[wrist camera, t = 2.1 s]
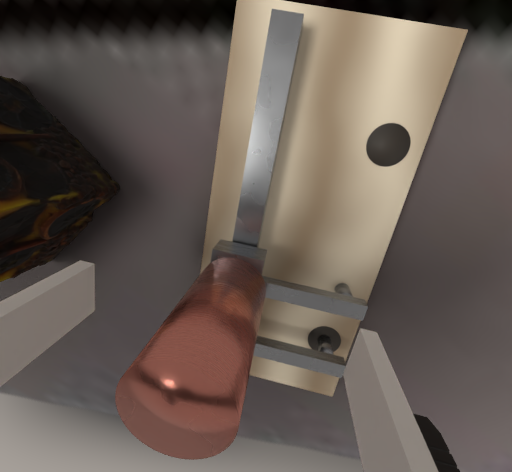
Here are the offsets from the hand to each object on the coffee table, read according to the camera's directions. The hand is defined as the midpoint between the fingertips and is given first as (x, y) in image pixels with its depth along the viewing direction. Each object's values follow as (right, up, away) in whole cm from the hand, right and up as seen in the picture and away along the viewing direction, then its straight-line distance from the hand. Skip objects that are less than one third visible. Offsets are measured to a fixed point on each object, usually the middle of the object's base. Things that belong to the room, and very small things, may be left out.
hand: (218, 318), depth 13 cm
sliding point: (+4, +1, +6) cm, 7 cm away
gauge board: (+5, +4, +6) cm, 9 cm away
